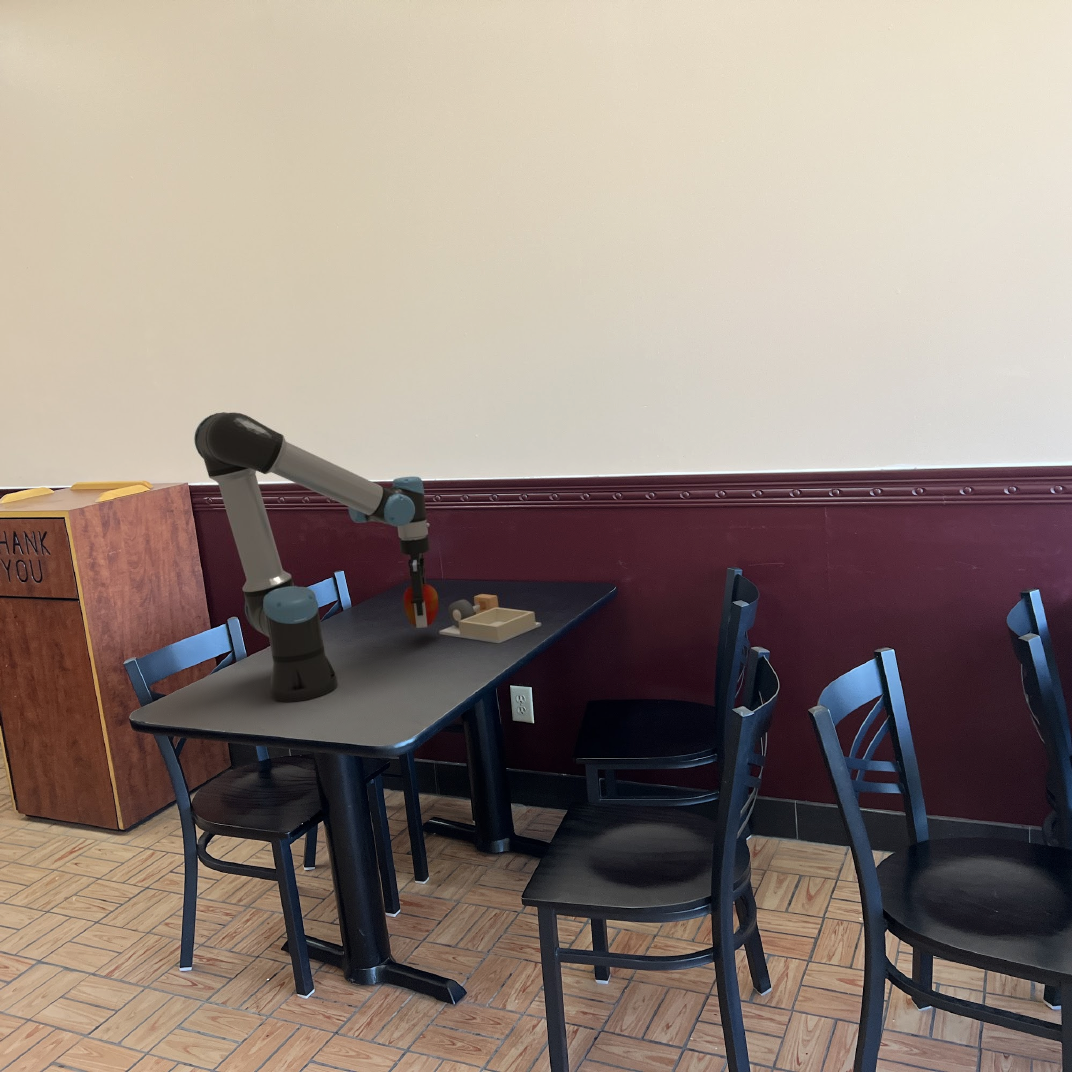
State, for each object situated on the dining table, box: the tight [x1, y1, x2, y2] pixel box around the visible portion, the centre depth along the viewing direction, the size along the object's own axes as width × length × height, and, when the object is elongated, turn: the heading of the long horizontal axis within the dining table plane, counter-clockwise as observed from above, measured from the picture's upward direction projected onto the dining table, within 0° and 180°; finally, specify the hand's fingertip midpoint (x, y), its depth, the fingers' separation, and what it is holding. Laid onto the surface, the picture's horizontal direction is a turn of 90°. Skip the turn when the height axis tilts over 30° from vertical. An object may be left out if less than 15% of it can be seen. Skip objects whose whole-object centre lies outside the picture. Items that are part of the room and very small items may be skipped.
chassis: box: [438, 593, 542, 644], centre depth 256 cm, size 16×22×7 cm
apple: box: [402, 583, 439, 627], centre depth 252 cm, size 9×9×12 cm
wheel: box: [447, 598, 480, 628], centre depth 260 cm, size 8×7×7 cm
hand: (423, 622), depth 253 cm, fingers closed on apple, 9 cm apart
